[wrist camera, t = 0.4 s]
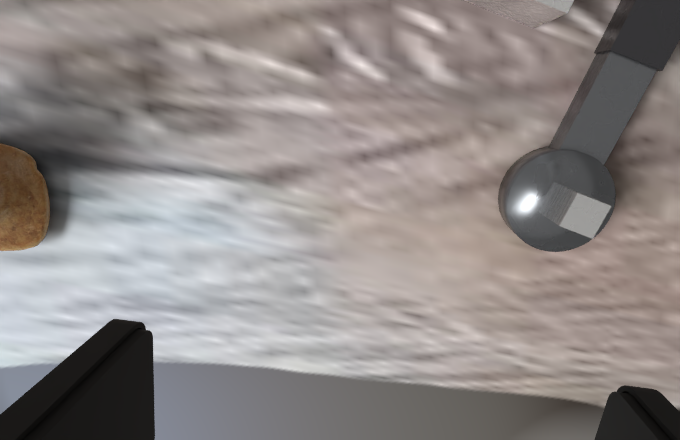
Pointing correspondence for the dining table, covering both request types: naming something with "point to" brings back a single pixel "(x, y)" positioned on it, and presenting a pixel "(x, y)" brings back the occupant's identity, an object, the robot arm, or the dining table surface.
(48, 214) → the tan boot
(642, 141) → the dining table surface
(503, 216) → the ratchet
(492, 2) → the socket
